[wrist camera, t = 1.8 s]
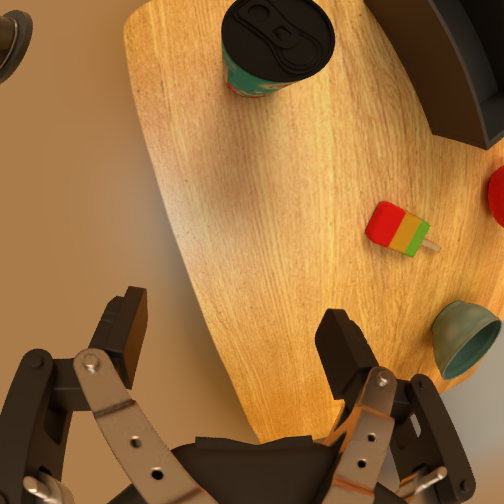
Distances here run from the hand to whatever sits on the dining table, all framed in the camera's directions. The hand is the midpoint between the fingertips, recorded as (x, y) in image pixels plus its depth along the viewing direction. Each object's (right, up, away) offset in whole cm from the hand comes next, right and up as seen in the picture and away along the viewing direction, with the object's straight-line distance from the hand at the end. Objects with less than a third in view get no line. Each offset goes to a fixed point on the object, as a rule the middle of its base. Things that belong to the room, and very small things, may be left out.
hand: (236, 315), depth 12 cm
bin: (+27, +30, +9) cm, 41 cm away
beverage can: (+1, +21, +12) cm, 24 cm away
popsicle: (+23, +5, +23) cm, 33 cm away
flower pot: (+42, -11, +34) cm, 55 cm away
